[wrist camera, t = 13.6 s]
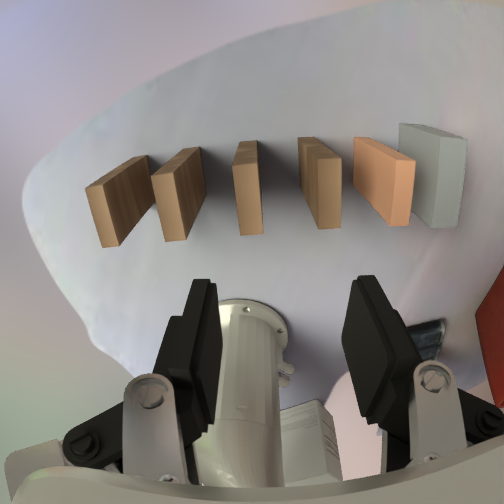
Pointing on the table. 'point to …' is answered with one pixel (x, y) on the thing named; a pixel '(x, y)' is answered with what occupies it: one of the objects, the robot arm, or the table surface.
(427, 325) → the electronic device
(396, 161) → the domino end
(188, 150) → the domino
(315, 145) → the domino
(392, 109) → the table surface
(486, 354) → the plant pot
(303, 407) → the supplement box
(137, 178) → the domino
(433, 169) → the block
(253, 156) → the domino
